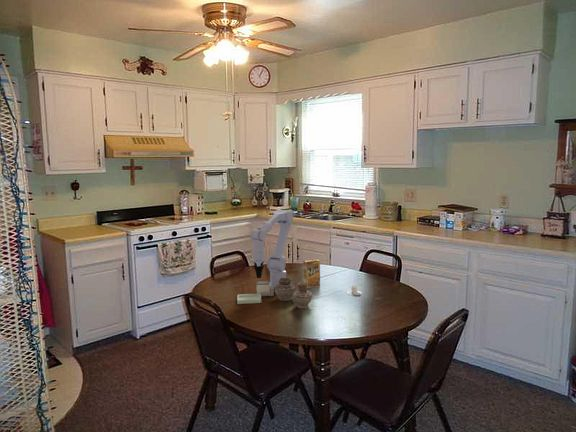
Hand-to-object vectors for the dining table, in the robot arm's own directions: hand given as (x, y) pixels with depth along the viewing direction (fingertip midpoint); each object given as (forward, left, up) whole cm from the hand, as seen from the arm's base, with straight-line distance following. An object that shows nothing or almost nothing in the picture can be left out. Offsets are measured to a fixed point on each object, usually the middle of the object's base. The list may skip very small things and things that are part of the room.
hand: (259, 275), depth 231 cm
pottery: (-17, +16, -10) cm, 26 cm away
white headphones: (-49, +8, -11) cm, 51 cm away
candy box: (-30, -9, -10) cm, 33 cm away
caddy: (-2, +1, -10) cm, 10 cm away
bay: (-2, +1, -10) cm, 10 cm away
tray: (+6, +10, -10) cm, 15 cm away
